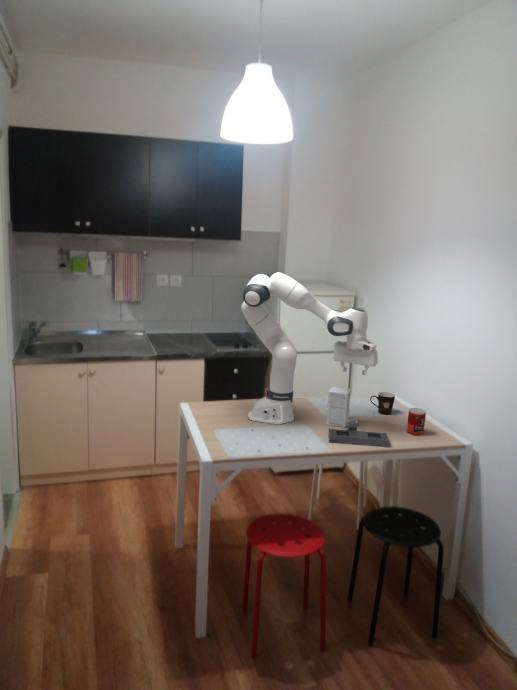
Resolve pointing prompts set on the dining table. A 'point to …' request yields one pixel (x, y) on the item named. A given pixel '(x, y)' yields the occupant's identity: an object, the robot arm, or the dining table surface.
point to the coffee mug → (385, 402)
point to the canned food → (416, 421)
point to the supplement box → (338, 406)
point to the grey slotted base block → (358, 437)
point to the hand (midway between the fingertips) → (354, 373)
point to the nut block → (352, 424)
